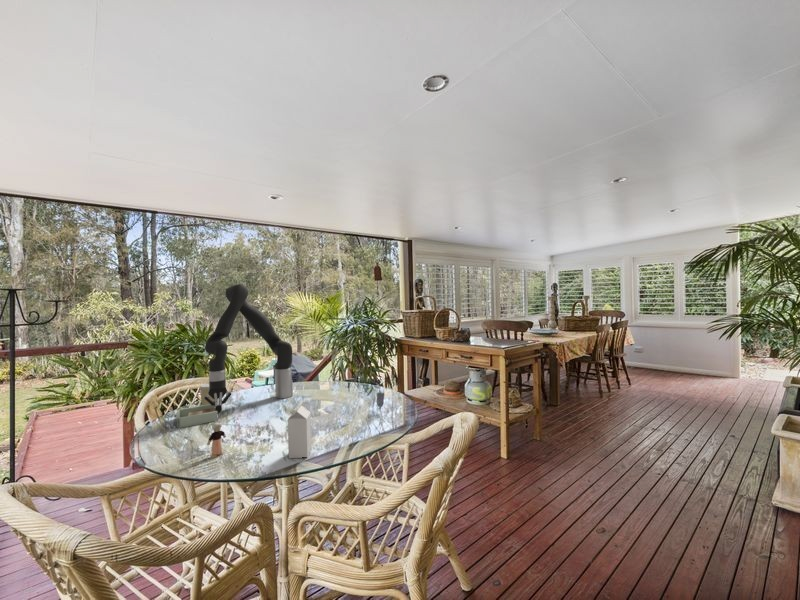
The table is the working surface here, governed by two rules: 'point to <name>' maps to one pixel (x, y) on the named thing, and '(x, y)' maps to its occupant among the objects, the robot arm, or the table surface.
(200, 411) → the oak tile
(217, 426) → the grandmother figurine
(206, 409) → the walnut tile
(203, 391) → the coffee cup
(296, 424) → the milk carton
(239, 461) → the table surface
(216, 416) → the grey-green tray
